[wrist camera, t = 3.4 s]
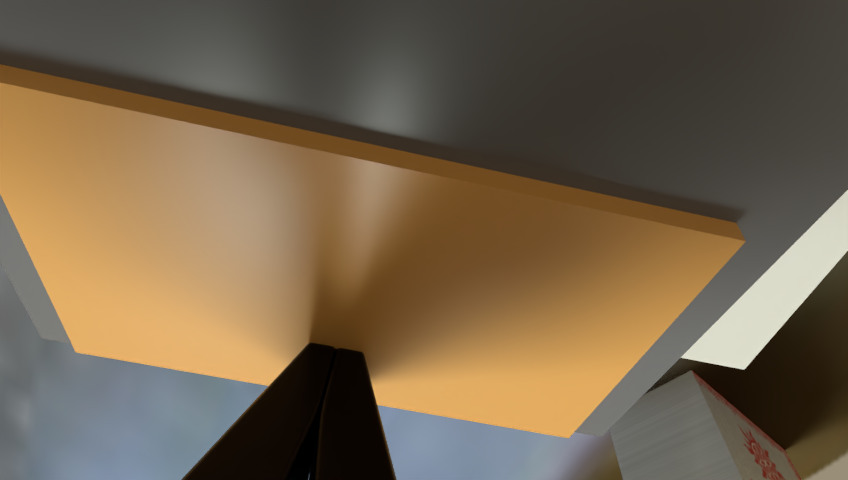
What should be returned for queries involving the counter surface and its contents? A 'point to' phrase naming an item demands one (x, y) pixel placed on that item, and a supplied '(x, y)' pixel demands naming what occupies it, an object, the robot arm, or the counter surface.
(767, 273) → the breaker housing
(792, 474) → the printed cardboard box
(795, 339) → the counter surface
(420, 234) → the rocker switch
